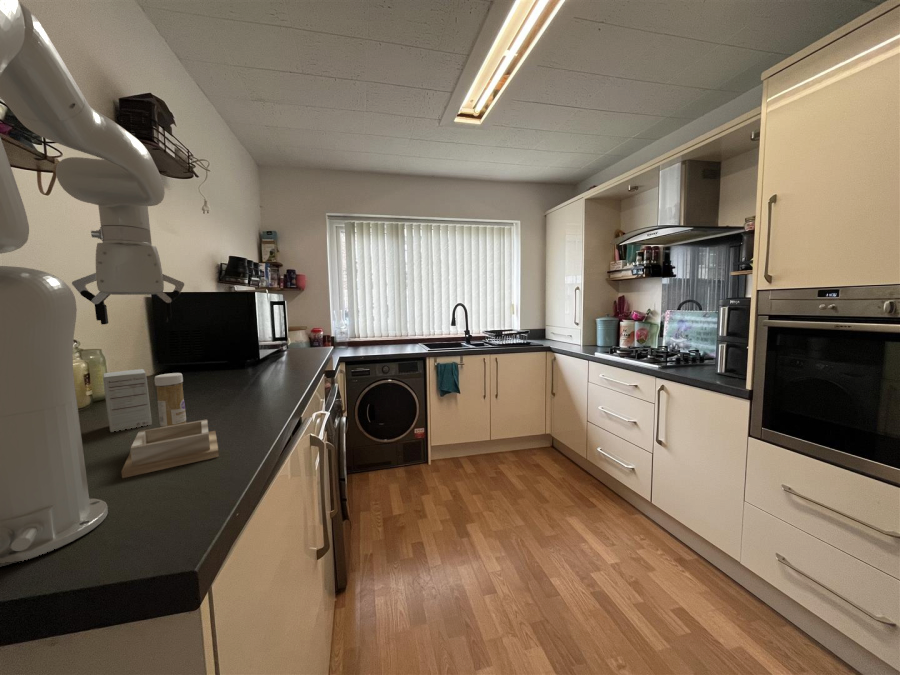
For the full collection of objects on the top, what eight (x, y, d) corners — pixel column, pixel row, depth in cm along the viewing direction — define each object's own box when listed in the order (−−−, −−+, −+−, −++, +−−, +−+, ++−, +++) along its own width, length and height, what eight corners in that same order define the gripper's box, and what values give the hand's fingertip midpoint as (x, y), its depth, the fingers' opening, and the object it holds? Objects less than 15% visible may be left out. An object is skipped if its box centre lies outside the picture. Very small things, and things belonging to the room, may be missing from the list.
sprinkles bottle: (187, 438, 74) (181, 374, 73) (159, 444, 72) (152, 377, 71) (188, 432, 78) (182, 371, 77) (162, 437, 76) (155, 374, 75)
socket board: (218, 456, 65) (216, 433, 64) (122, 478, 57) (119, 452, 57) (215, 436, 75) (214, 416, 75) (133, 452, 68) (131, 430, 68)
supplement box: (109, 425, 85) (103, 372, 84) (150, 418, 90) (144, 368, 89) (108, 433, 79) (102, 376, 78) (152, 425, 84) (146, 371, 83)
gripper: (61, 231, 65) (73, 325, 67) (180, 239, 75) (188, 321, 77) (71, 238, 71) (81, 324, 73) (180, 244, 81) (187, 320, 83)
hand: (136, 322), depth 75 cm, fingers open, 9 cm apart
